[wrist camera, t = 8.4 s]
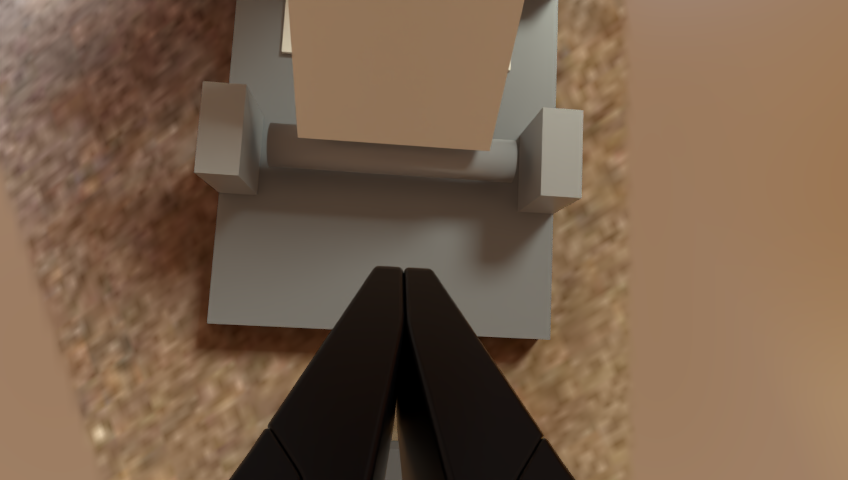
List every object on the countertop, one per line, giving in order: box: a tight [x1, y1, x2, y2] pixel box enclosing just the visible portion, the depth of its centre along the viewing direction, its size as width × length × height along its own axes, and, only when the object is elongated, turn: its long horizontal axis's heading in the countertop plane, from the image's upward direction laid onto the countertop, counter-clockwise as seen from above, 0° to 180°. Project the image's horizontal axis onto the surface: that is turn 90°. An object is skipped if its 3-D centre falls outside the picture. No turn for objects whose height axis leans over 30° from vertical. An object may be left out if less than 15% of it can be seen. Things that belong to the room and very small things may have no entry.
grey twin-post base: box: [194, 0, 583, 340], centre depth 18 cm, size 12×10×4 cm
